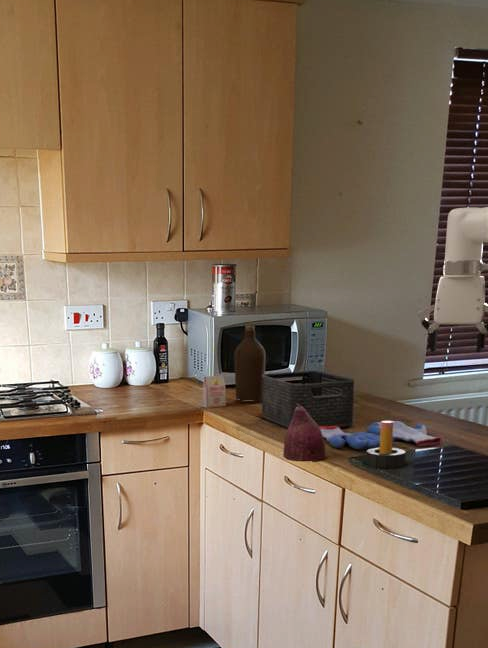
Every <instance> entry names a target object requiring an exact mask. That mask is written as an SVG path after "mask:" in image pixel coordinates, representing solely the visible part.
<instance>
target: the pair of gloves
mask: <svg viewBox="0 0 488 648" xmlns="http://www.w3.org/2000/svg"><path fill="white" fill-rule="evenodd" d="M383 421H389V420H388V419H384V420H383ZM319 428H320V430H321V432H322V435H323V438H325V439H326V441H327V442H328V443H329V444H330V445H331V446H332V447H334V448H335V449H341V448H343V447H344V446H345V445H346V443H347V444H348V446H350V448H351V449H354V450H358V451H363V450H368V449H372V448H380V432H381V421H377V422H376V421H375V422H373V423H371V424H370V426H367V428H366V429H365V431H366V432H363V431H361V432H355V433H349V432H344V431H343V430H342V429H341V427H337V426H332V427H322V426H321V427H319ZM427 433H428V432H427V426H426V425H425V424H423V423H417V424H415V425H414V426H413V427H410V426H408V425H406V424H405V423H404V422H402V421H393V437H392V444H393V443H394V441H399V440H400V441H405V442H407V443H415V444H416V445H417V446H418V447H428V446H436V445H440V444H441V442H442V438H441V437H440V436H436V437H434V436H432V435H428V434H427Z"/></svg>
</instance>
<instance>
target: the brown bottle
mask: <svg viewBox="0 0 488 648" xmlns="http://www.w3.org/2000/svg"><path fill="white" fill-rule="evenodd" d="M255 328H256V326H255V325H245V326H244V329H245V330H244V338H243V339H242V341H241V342H240V343H239V344H238V345H237V346H236V348H235V351H234V354H233V363H234V381H235V383H234V384H235V401H236V403H238V404H239V403H240V404H259V403H262V375H263V374H266V361H267V359H266V358H267V354H266V350H265V348H264V346H263V345H262V344H261V343H260V342H259V341H258V340H257V338H256V330H255ZM236 398H237V399H240V400H237V399H236ZM260 399H261V400H260ZM243 400H254V401H243Z"/></svg>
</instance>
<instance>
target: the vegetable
mask: <svg viewBox="0 0 488 648" xmlns="http://www.w3.org/2000/svg"><path fill="white" fill-rule="evenodd" d="M326 447H327V446H326V441H325V439H324V437H323V435H322V432H321V430H320V428H319V426H318V425H317V423H316V422H315V421H314V420H313V419H312V418H311V417H310V415H309V414H308V413H307V411H306V410H305V409H304V408H303V407H302V406H300V405H298V404H297V407H296V408H295V411H294V416H293V418H292V421H291V423H290V426H289V428H287V431H286V433H285V437H284V444H283V458H284V459H286V460H287V461H290V462H291V461H292V462H302V463H303V462H305V463H306V462H315V461H322V460H325V458H326V455H327V454H326V453H327V449H326Z"/></svg>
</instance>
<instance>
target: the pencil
mask: <svg viewBox="0 0 488 648" xmlns="http://www.w3.org/2000/svg"><path fill="white" fill-rule="evenodd" d="M380 422H381V432H380V447H379V448H380V451H379V453H381V454H392V448H393V443H392V437H393V422H394V421H393V420H388V421H384V420H380Z"/></svg>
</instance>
